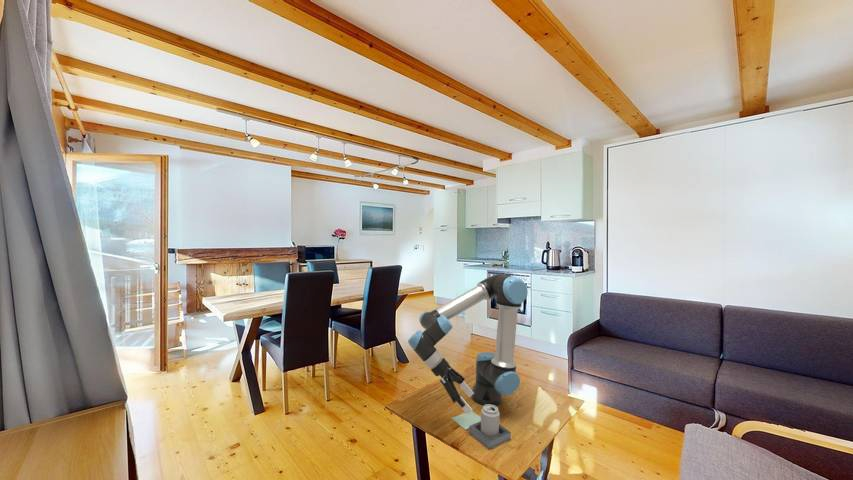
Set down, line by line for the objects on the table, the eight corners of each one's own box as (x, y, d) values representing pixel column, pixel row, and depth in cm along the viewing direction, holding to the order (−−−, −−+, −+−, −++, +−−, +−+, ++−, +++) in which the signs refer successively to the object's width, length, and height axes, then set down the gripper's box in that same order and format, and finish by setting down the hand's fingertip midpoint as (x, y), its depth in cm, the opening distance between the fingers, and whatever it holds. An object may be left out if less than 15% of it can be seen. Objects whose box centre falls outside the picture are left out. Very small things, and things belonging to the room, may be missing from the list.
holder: (489, 424, 140) (489, 417, 140) (510, 439, 130) (510, 432, 130) (468, 433, 133) (469, 425, 133) (489, 449, 123) (489, 442, 123)
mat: (471, 411, 150) (471, 410, 150) (485, 421, 142) (485, 420, 142) (451, 419, 143) (451, 418, 143) (465, 430, 135) (465, 429, 135)
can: (502, 440, 129) (503, 411, 129) (485, 443, 127) (486, 413, 127) (493, 429, 136) (494, 402, 136) (477, 432, 134) (478, 404, 134)
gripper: (435, 357, 148) (466, 394, 145) (424, 381, 123) (461, 425, 121) (447, 347, 147) (478, 384, 144) (438, 369, 122) (475, 413, 120)
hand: (470, 403), depth 132 cm, fingers open, 13 cm apart
